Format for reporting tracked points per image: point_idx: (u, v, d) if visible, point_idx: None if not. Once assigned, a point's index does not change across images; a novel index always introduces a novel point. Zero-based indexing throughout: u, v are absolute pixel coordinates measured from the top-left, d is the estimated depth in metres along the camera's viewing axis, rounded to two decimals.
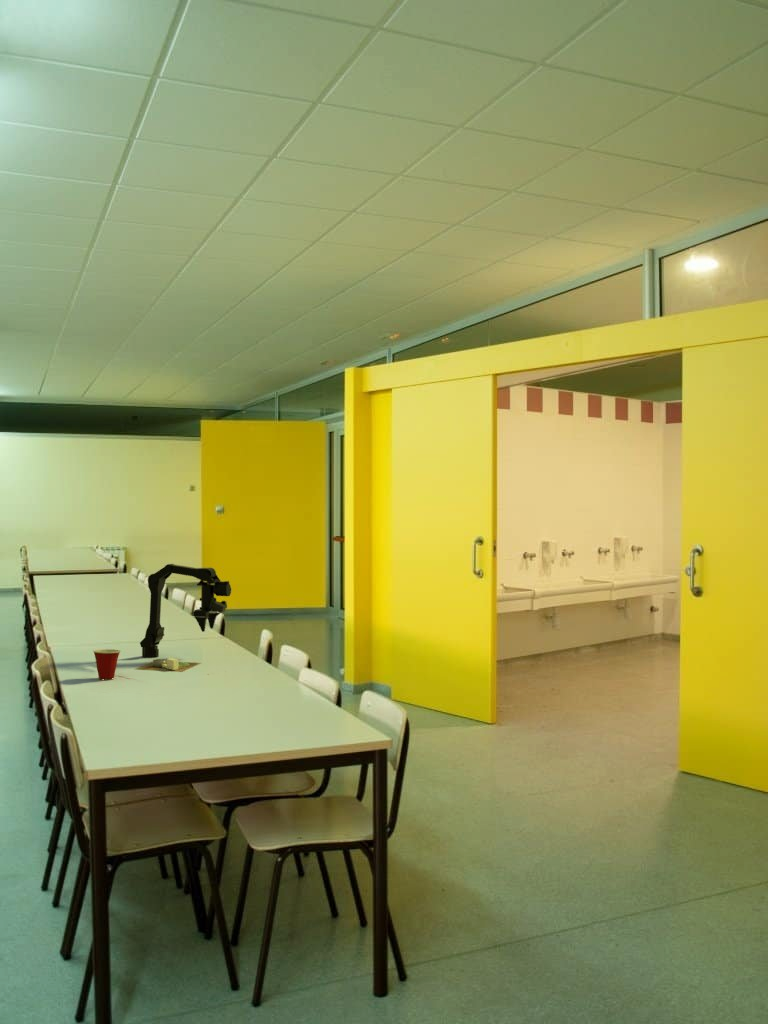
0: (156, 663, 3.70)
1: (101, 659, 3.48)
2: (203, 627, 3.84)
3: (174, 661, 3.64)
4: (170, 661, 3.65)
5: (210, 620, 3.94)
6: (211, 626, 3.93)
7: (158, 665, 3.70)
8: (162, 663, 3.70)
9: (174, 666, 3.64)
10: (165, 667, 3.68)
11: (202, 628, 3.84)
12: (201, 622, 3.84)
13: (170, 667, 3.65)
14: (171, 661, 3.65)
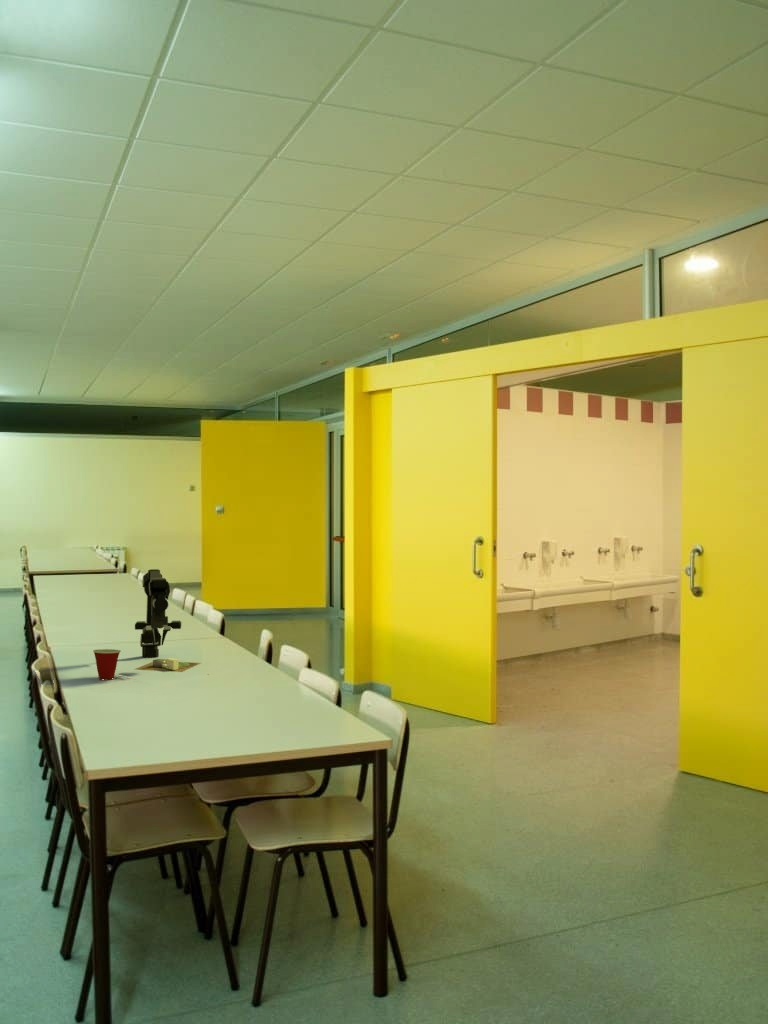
0: (156, 663, 3.70)
1: (101, 659, 3.48)
2: None
3: (174, 661, 3.64)
4: (170, 661, 3.65)
5: None
6: None
7: (158, 665, 3.70)
8: (162, 663, 3.70)
9: (174, 666, 3.64)
10: (165, 667, 3.68)
11: (152, 642, 3.63)
12: None
13: (170, 667, 3.65)
14: (171, 661, 3.65)
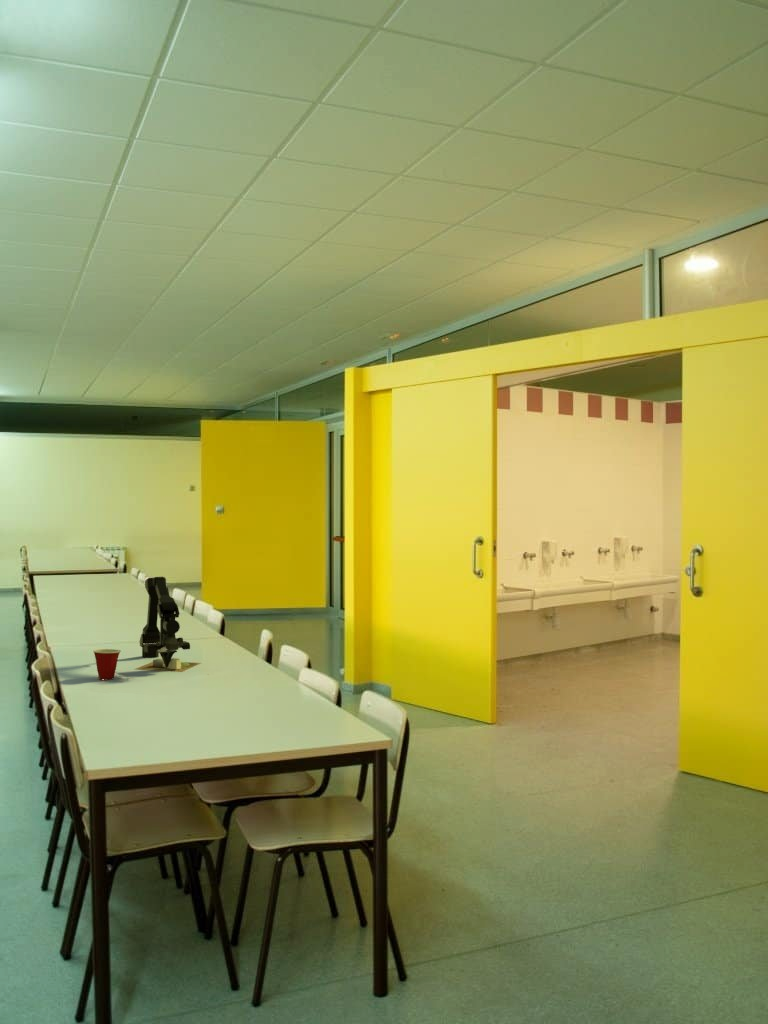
0: (157, 663, 3.70)
1: (101, 659, 3.48)
2: (165, 662, 3.64)
3: (177, 661, 3.65)
4: (172, 660, 3.66)
5: None
6: None
7: (159, 665, 3.70)
8: (163, 663, 3.70)
9: (177, 666, 3.65)
10: None
11: (165, 663, 3.65)
12: (163, 657, 3.65)
13: (173, 667, 3.66)
14: (174, 661, 3.66)
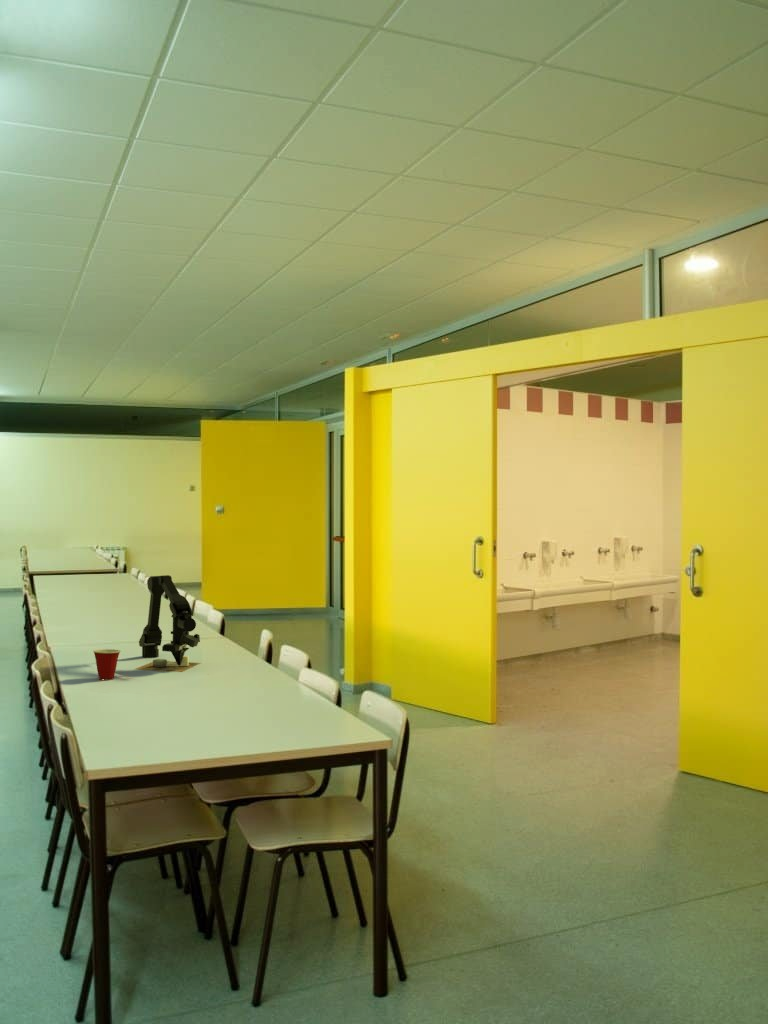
0: (162, 663, 3.70)
1: (101, 659, 3.48)
2: (179, 660, 3.69)
3: (187, 657, 3.73)
4: None
5: None
6: None
7: (163, 665, 3.71)
8: (166, 662, 3.72)
9: (187, 662, 3.73)
10: (172, 665, 3.72)
11: (178, 661, 3.69)
12: (176, 655, 3.69)
13: (182, 664, 3.72)
14: (183, 658, 3.72)
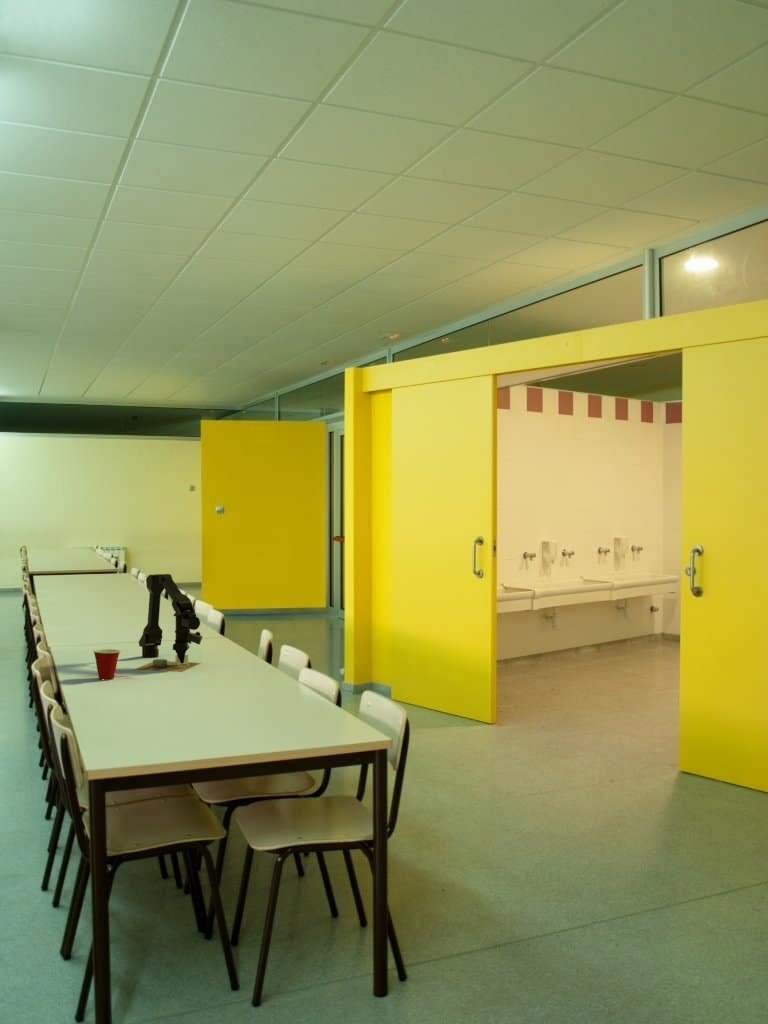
0: (164, 663, 3.71)
1: (101, 659, 3.48)
2: (183, 659, 3.73)
3: (187, 655, 3.77)
4: None
5: None
6: None
7: (165, 664, 3.72)
8: (167, 662, 3.73)
9: (187, 660, 3.77)
10: (173, 664, 3.74)
11: (181, 660, 3.73)
12: (181, 654, 3.72)
13: None
14: None
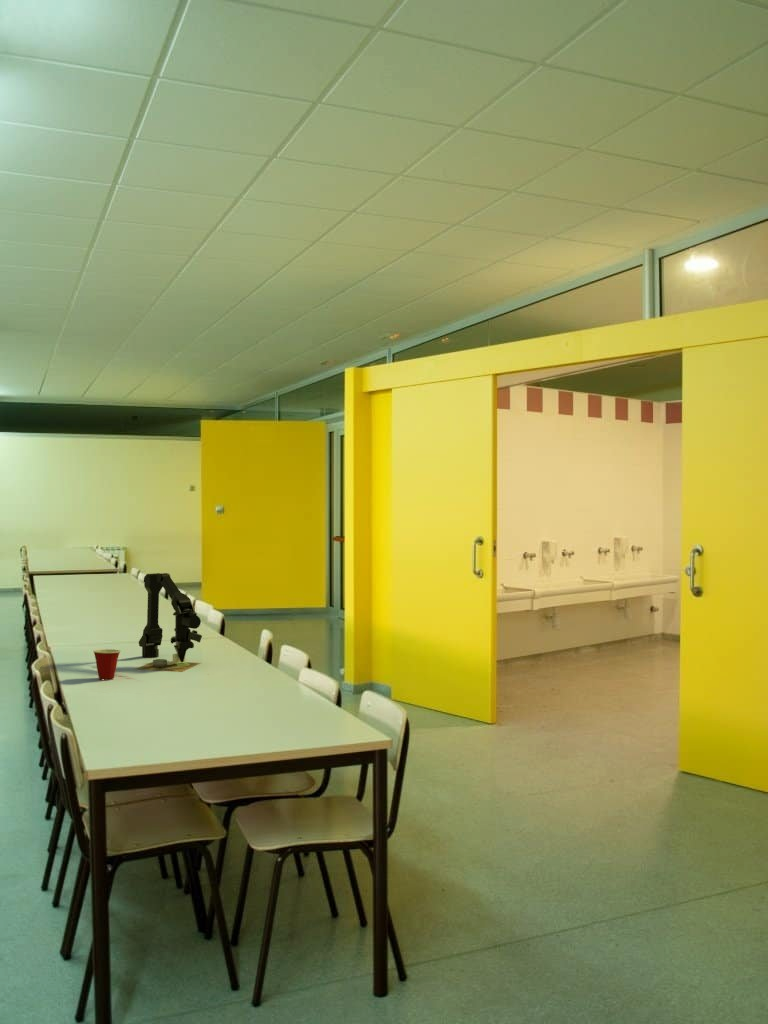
0: (166, 662, 3.72)
1: (101, 659, 3.48)
2: (183, 657, 3.76)
3: None
4: None
5: None
6: None
7: (166, 664, 3.73)
8: None
9: None
10: None
11: (182, 658, 3.76)
12: (181, 652, 3.75)
13: None
14: None
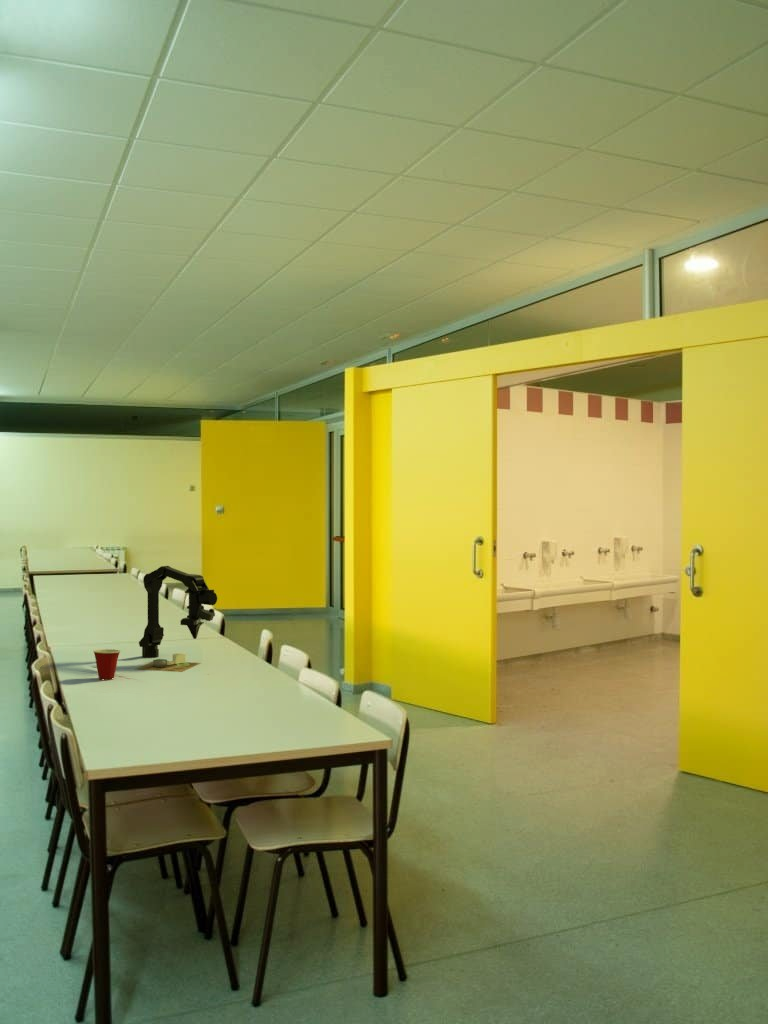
0: (166, 662, 3.72)
1: (101, 659, 3.48)
2: (195, 634, 3.81)
3: None
4: (180, 655, 3.78)
5: None
6: None
7: (166, 664, 3.73)
8: None
9: None
10: None
11: (193, 635, 3.81)
12: (193, 629, 3.81)
13: (181, 661, 3.79)
14: (182, 655, 3.79)
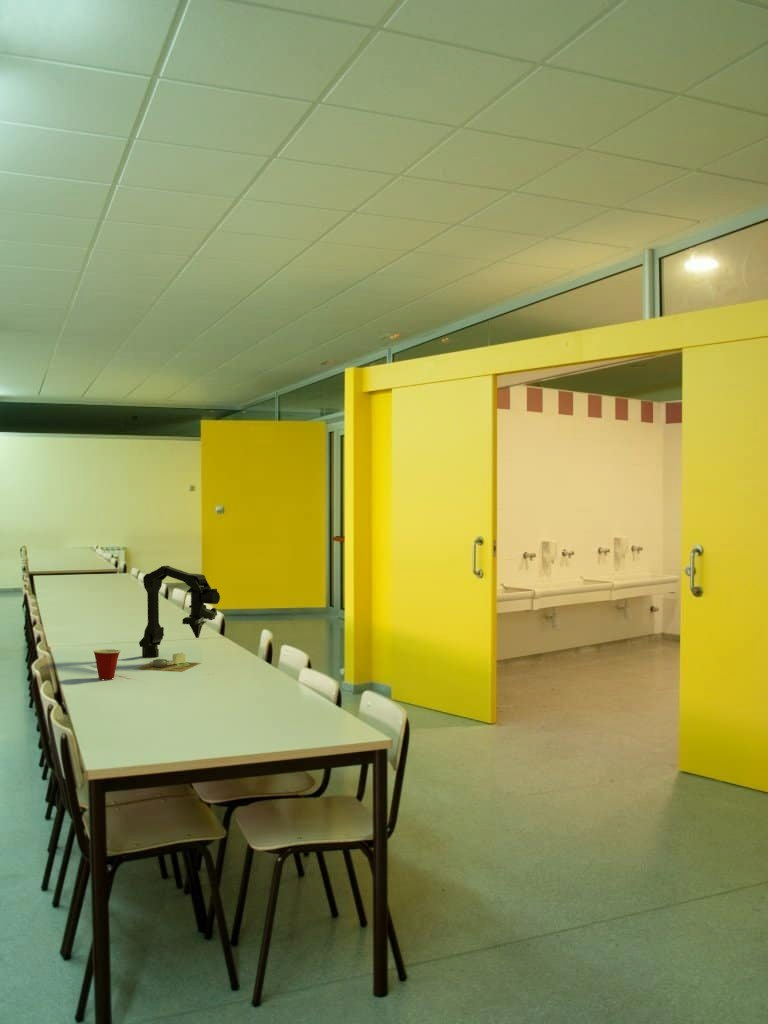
0: (166, 662, 3.72)
1: (101, 659, 3.48)
2: (197, 633, 3.83)
3: None
4: (180, 655, 3.78)
5: None
6: None
7: (166, 664, 3.73)
8: None
9: None
10: None
11: (196, 634, 3.83)
12: (195, 628, 3.83)
13: (181, 661, 3.79)
14: (182, 655, 3.79)
